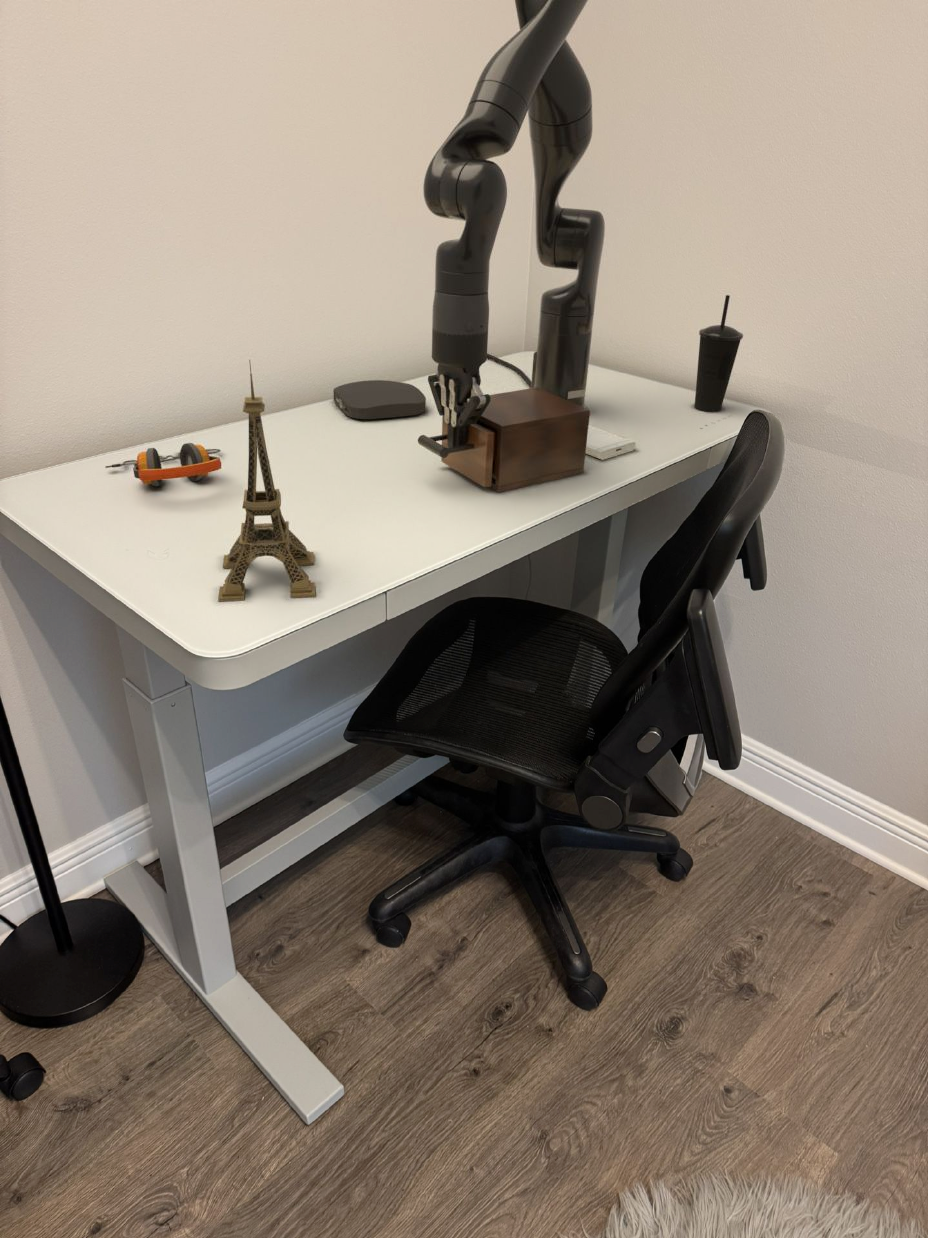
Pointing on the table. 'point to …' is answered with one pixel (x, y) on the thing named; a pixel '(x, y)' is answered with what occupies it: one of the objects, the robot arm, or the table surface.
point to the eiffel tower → (268, 535)
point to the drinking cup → (715, 363)
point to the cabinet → (536, 437)
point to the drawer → (467, 452)
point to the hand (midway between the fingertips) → (456, 449)
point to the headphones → (192, 466)
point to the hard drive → (606, 444)
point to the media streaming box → (379, 399)
